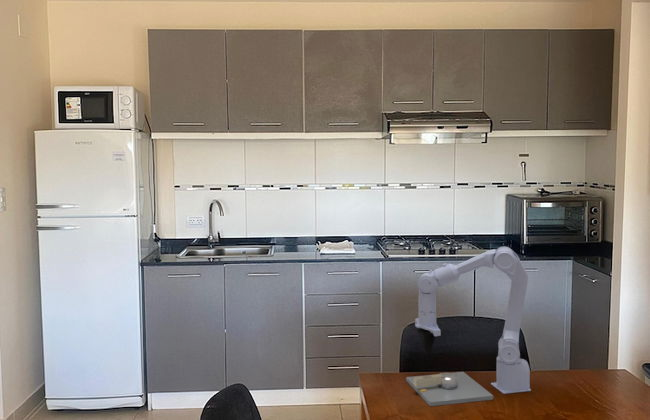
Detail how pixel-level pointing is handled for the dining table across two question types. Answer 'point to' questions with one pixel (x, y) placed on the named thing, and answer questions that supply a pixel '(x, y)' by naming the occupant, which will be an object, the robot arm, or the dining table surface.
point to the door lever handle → (438, 380)
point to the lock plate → (452, 391)
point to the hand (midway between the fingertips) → (427, 351)
